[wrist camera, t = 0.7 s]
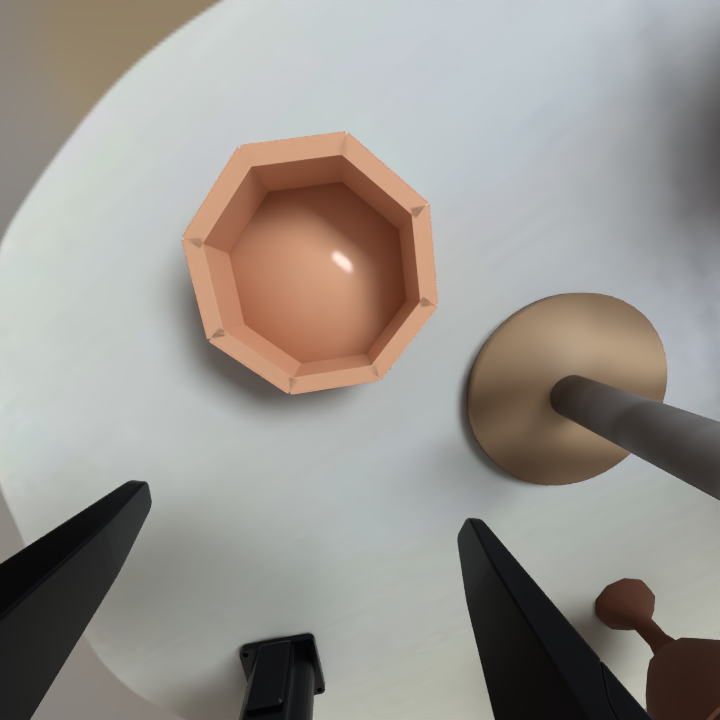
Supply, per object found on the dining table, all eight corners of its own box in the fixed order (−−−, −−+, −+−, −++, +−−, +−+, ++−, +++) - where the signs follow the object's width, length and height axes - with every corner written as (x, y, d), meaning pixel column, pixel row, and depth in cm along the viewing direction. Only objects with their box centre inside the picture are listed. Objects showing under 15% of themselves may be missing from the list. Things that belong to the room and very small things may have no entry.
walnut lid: (645, 460, 26) (928, 613, 13) (472, 490, 25) (598, 676, 13) (657, 279, 22) (1044, 258, 10) (459, 309, 22) (610, 325, 10)
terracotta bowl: (423, 356, 22) (444, 370, 18) (247, 383, 22) (223, 405, 17) (403, 160, 19) (422, 121, 15) (201, 187, 19) (159, 155, 15)
